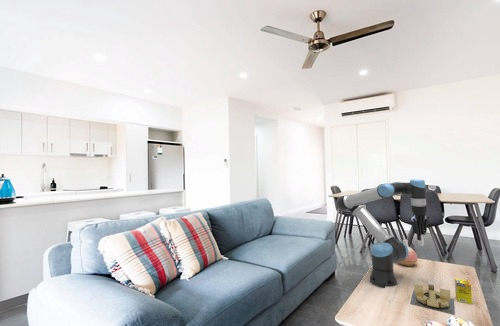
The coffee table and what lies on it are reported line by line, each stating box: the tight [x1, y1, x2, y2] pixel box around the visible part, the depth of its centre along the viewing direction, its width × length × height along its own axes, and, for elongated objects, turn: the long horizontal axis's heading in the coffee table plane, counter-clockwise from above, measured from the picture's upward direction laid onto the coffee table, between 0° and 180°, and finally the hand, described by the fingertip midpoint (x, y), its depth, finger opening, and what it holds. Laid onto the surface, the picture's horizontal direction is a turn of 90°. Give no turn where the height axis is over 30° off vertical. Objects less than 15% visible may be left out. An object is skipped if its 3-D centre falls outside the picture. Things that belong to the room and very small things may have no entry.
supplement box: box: [454, 278, 473, 305], centre depth 132 cm, size 6×6×11 cm
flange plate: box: [409, 289, 456, 316], centre depth 132 cm, size 18×18×4 cm
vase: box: [398, 239, 418, 267], centre depth 186 cm, size 14×14×18 cm
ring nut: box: [413, 280, 452, 308], centre depth 132 cm, size 15×15×7 cm
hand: (420, 245), depth 151 cm, fingers closed
